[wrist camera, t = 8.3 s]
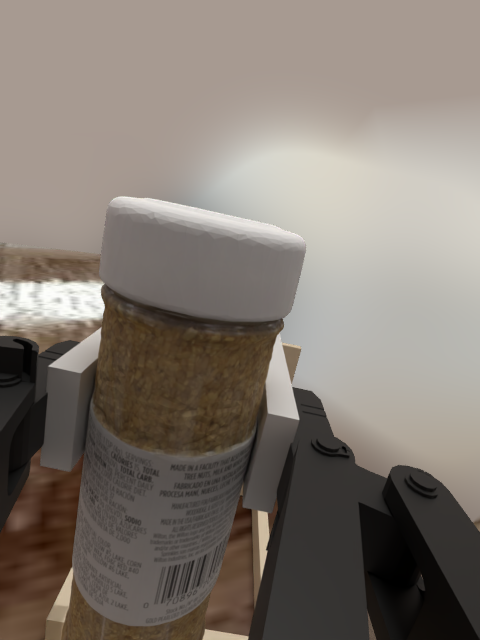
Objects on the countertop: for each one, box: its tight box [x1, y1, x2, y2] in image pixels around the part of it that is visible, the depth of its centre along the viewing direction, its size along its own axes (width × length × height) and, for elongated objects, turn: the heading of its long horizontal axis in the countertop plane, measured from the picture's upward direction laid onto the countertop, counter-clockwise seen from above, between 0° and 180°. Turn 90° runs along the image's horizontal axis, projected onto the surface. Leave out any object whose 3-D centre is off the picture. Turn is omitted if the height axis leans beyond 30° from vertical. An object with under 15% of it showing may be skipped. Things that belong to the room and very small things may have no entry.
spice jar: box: [61, 196, 306, 640], centre depth 10 cm, size 5×5×13 cm
